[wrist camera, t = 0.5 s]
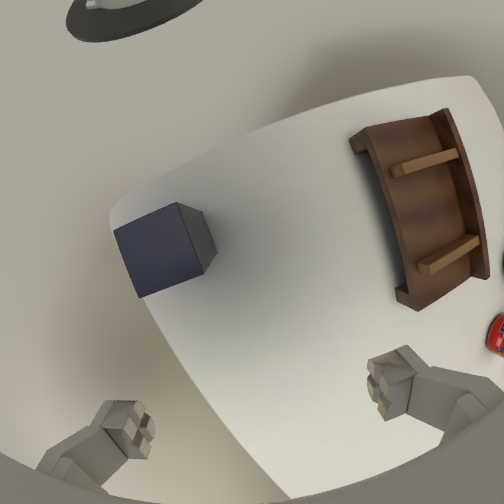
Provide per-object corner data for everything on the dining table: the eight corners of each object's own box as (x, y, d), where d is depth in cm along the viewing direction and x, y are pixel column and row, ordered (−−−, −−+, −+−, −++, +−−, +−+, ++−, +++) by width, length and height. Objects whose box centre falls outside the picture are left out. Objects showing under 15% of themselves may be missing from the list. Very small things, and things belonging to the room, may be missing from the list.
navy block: (161, 227, 30) (112, 230, 17) (201, 211, 30) (176, 201, 17) (177, 268, 30) (138, 298, 17) (217, 253, 30) (204, 274, 17)
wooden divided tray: (348, 139, 30) (378, 118, 22) (414, 124, 30) (448, 107, 22) (397, 301, 32) (432, 319, 24) (454, 267, 32) (490, 276, 25)
